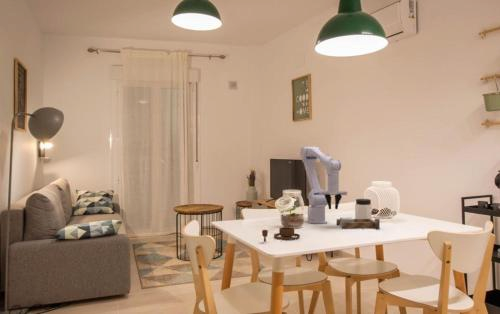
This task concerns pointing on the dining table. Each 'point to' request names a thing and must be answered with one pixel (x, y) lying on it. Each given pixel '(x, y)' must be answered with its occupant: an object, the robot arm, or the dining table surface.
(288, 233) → the place setting
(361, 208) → the jar
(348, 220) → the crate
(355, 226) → the wooden tray
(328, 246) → the dining table surface
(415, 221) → the dining table surface
